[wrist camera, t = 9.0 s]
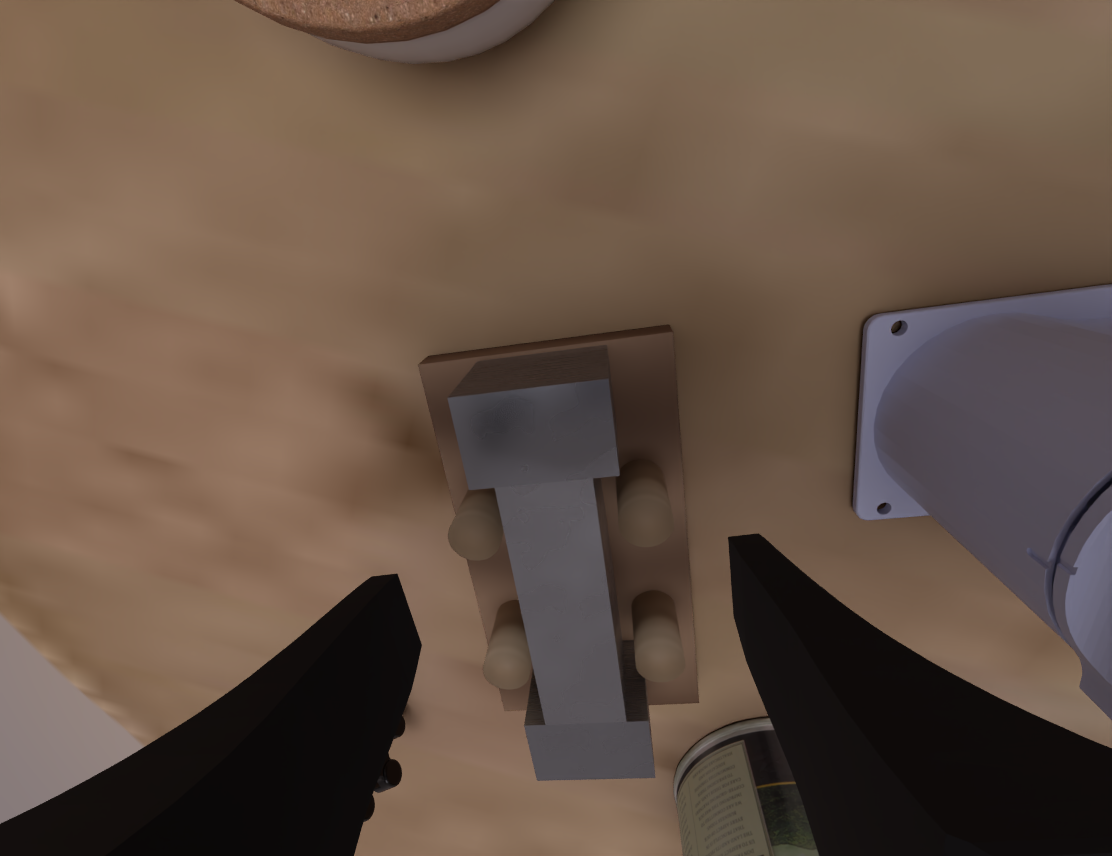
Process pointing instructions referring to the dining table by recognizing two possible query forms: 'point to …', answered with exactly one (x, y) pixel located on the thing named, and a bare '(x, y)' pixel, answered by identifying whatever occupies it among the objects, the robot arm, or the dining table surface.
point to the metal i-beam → (560, 552)
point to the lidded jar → (406, 25)
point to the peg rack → (631, 510)
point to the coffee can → (740, 796)
